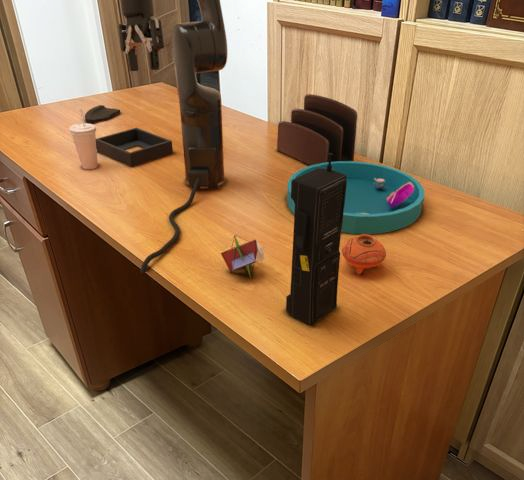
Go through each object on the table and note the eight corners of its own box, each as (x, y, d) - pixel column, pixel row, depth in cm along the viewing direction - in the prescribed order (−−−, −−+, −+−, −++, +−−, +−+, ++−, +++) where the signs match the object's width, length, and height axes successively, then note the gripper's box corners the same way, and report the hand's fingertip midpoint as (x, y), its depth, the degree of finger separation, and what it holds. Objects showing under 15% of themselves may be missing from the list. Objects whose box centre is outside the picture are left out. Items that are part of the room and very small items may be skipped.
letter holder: (304, 143, 150) (307, 89, 141) (353, 164, 138) (360, 107, 129) (276, 150, 145) (277, 95, 136) (325, 173, 133) (330, 114, 124)
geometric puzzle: (213, 272, 93) (240, 238, 89) (212, 252, 98) (238, 219, 94) (246, 291, 96) (274, 259, 92) (244, 271, 101) (269, 240, 97)
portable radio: (309, 330, 84) (322, 176, 68) (280, 315, 87) (286, 164, 71) (338, 309, 88) (357, 159, 72) (309, 295, 91) (321, 149, 75)
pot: (374, 252, 102) (383, 224, 97) (385, 281, 98) (395, 254, 92) (334, 253, 101) (340, 225, 96) (343, 283, 97) (350, 255, 91)
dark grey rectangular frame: (173, 153, 143) (171, 140, 141) (131, 167, 135) (129, 153, 133) (138, 139, 151) (136, 127, 149) (96, 151, 143) (94, 139, 141)
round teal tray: (424, 240, 107) (430, 213, 103) (277, 226, 111) (278, 199, 107) (418, 182, 129) (423, 157, 126) (296, 172, 133) (297, 148, 130)
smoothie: (99, 171, 133) (88, 112, 124) (73, 171, 133) (60, 112, 124) (105, 162, 138) (95, 104, 129) (81, 161, 138) (69, 104, 129)
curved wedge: (74, 122, 163) (72, 116, 162) (100, 110, 172) (99, 104, 171) (96, 125, 160) (95, 119, 159) (122, 113, 170) (121, 107, 169)
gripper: (105, -5, 127) (115, 71, 134) (140, -13, 118) (149, 69, 126) (131, -2, 132) (139, 71, 139) (167, -10, 123) (174, 69, 130)
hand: (144, 70), depth 132 cm, fingers open, 8 cm apart
